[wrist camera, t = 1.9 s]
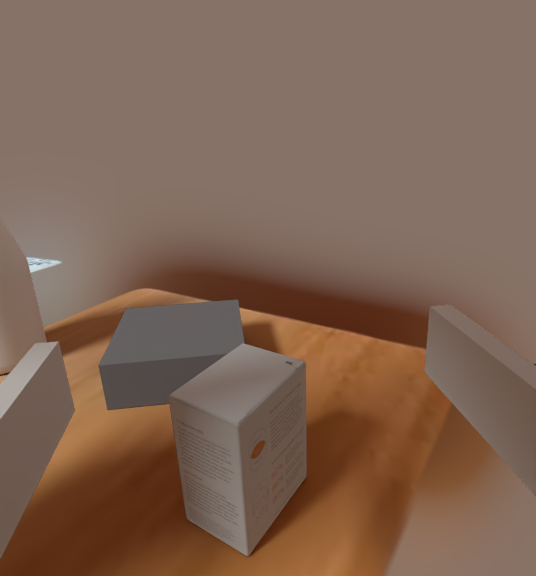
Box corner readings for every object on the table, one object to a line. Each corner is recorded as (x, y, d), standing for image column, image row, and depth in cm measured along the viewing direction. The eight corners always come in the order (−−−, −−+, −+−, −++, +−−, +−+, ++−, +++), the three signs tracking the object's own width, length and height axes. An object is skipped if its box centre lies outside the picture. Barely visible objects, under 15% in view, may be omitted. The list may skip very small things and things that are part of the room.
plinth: (107, 409, 42) (98, 365, 41) (132, 344, 55) (126, 308, 54) (248, 395, 44) (246, 351, 42) (240, 334, 57) (237, 299, 55)
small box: (250, 451, 36) (243, 340, 33) (308, 478, 33) (308, 358, 30) (183, 521, 30) (164, 393, 26) (247, 561, 27) (237, 423, 23)
